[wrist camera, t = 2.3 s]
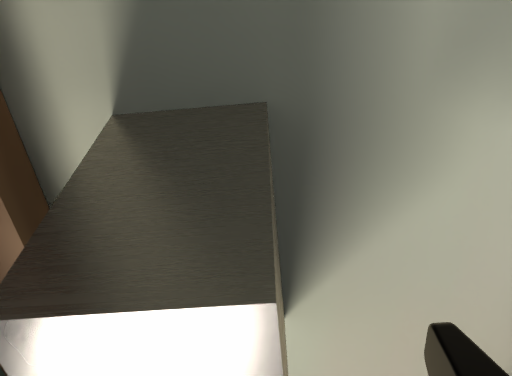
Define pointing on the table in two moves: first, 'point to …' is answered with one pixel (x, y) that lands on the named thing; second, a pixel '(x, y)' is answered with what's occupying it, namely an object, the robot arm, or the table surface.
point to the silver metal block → (155, 256)
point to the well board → (16, 195)
